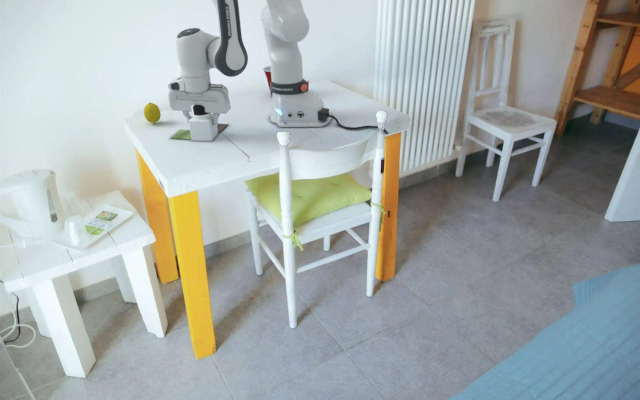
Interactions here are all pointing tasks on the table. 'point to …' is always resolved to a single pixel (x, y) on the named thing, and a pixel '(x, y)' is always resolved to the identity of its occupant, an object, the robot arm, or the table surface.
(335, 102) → the table surface
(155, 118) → the lemon
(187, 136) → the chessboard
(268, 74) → the plastic cup
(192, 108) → the medicine bottle
